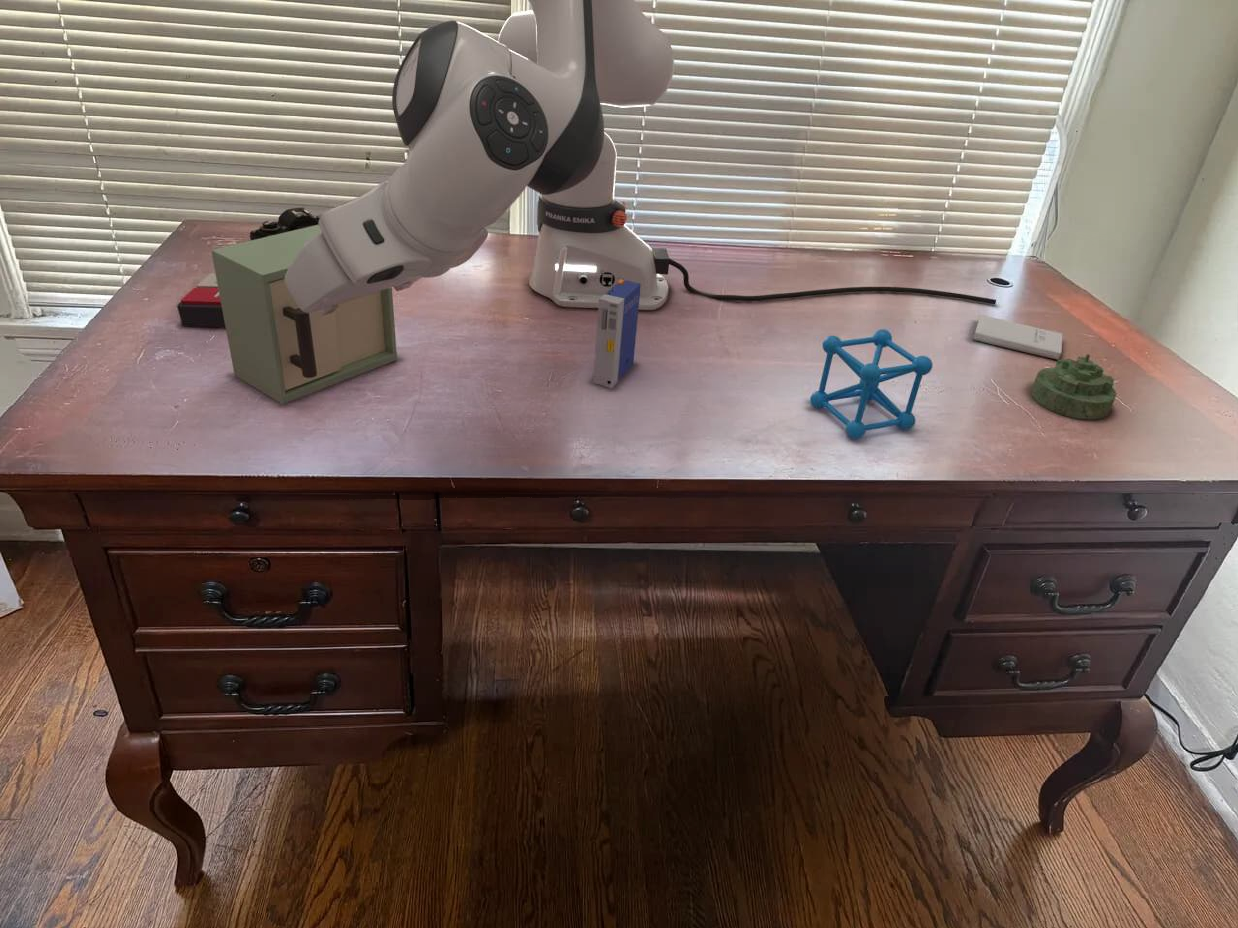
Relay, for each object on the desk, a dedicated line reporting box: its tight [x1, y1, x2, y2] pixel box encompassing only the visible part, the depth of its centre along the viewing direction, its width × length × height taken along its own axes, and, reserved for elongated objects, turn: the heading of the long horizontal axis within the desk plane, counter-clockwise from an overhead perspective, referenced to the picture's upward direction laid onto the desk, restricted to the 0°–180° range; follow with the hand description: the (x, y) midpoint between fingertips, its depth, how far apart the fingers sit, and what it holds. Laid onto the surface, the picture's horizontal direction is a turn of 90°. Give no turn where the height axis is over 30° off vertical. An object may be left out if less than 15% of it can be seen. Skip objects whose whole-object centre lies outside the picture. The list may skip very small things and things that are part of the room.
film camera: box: [249, 207, 324, 241], centre depth 134 cm, size 18×12×10 cm
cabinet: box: [210, 225, 398, 405], centre depth 105 cm, size 10×17×16 cm, turn 142°
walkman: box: [592, 279, 641, 389], centre depth 111 cm, size 8×3×12 cm, turn 158°
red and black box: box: [176, 273, 226, 328], centre depth 120 cm, size 11×4×15 cm
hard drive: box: [972, 314, 1063, 361], centre depth 134 cm, size 2×8×12 cm
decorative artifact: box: [1030, 353, 1117, 421], centre depth 116 cm, size 10×7×10 cm
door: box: [268, 278, 341, 391], centre depth 100 cm, size 4×8×13 cm, turn 142°
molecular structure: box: [809, 328, 933, 440], centre depth 107 cm, size 10×10×10 cm
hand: (361, 295), depth 87 cm, fingers open, 8 cm apart
